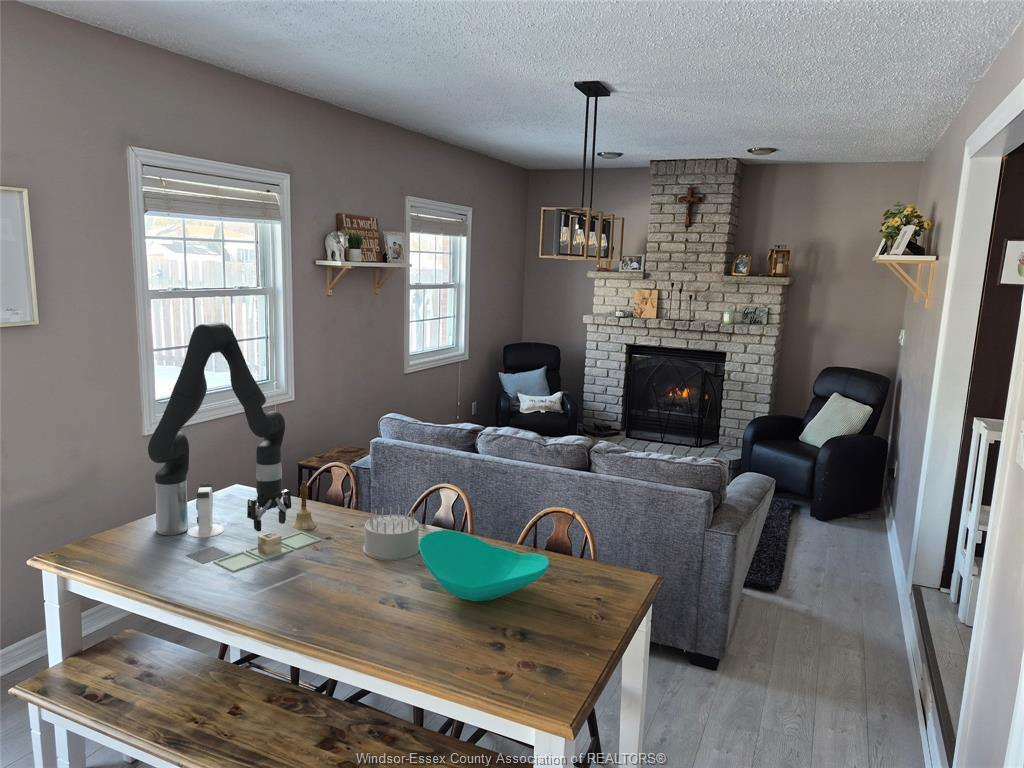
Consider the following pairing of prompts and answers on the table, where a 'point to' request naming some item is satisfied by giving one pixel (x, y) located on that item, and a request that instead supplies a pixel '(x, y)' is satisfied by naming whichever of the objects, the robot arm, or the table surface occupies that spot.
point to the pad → (208, 555)
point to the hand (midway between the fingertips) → (270, 526)
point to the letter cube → (269, 543)
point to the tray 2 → (266, 557)
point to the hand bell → (304, 512)
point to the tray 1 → (238, 561)
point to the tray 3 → (299, 540)
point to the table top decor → (478, 566)
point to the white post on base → (205, 514)
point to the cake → (391, 536)
